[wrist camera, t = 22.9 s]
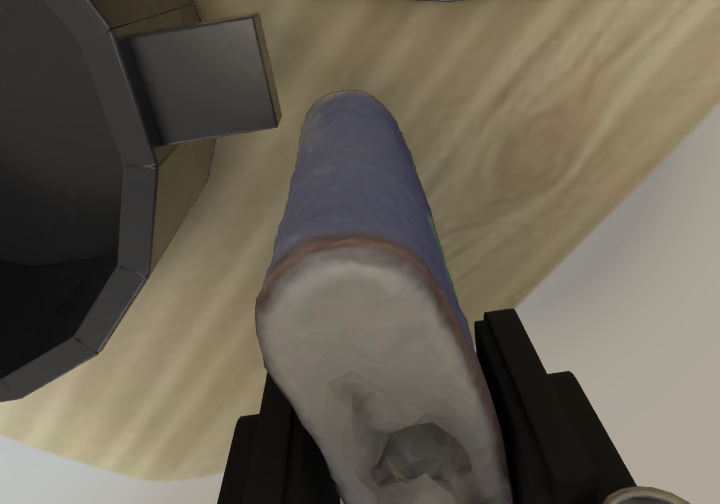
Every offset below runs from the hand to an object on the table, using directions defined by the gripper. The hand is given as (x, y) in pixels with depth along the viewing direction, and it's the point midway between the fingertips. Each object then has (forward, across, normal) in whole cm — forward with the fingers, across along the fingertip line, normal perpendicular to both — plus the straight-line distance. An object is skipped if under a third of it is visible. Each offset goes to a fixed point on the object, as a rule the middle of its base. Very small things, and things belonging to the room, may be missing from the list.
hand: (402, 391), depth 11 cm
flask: (+6, 0, 0) cm, 6 cm away
